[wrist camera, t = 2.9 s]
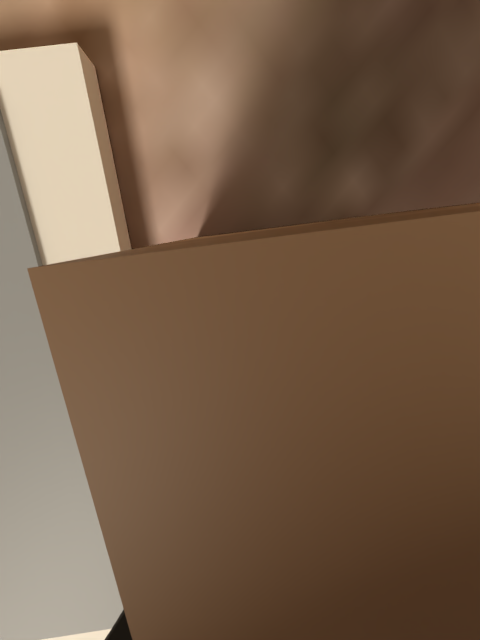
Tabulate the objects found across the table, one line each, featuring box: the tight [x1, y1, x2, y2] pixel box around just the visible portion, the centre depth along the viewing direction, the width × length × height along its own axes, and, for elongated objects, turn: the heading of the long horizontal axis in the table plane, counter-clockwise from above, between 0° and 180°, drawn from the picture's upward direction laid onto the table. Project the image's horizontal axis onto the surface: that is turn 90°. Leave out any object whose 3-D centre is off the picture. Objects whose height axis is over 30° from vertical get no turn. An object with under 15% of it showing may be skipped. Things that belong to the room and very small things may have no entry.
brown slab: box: [27, 203, 480, 640], centre depth 6 cm, size 4×12×8 cm, turn 7°
